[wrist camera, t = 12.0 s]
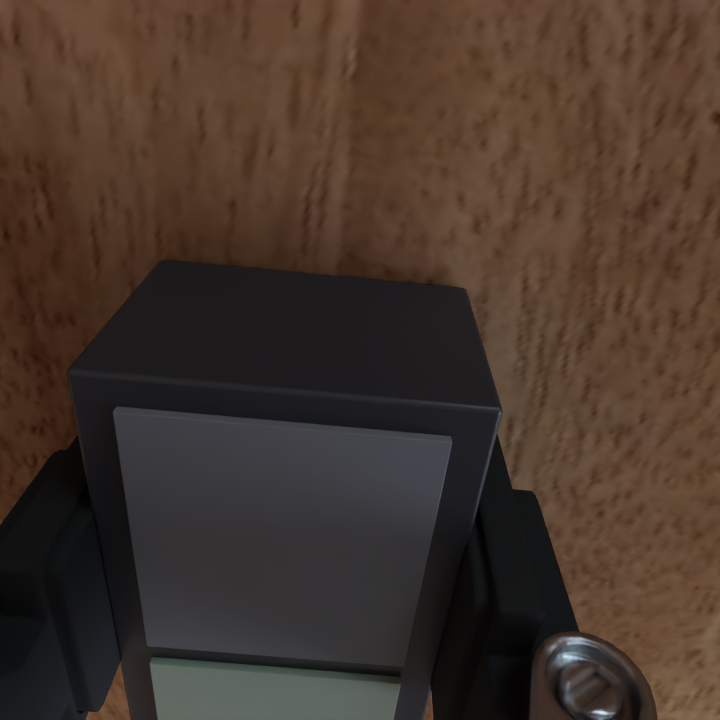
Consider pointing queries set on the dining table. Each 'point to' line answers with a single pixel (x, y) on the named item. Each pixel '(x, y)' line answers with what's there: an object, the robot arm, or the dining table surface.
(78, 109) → the dining table surface
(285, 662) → the calculator
